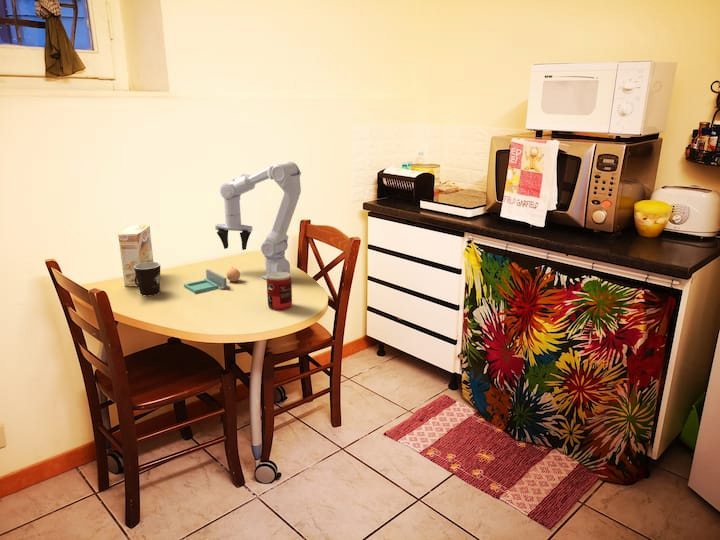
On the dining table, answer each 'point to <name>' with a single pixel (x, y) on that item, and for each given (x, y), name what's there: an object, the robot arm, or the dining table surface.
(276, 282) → the canned food
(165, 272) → the dining table surface
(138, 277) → the coffee mug
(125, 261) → the coffeecake box
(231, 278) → the ball
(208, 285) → the coaster
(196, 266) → the dining table surface
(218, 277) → the wall
